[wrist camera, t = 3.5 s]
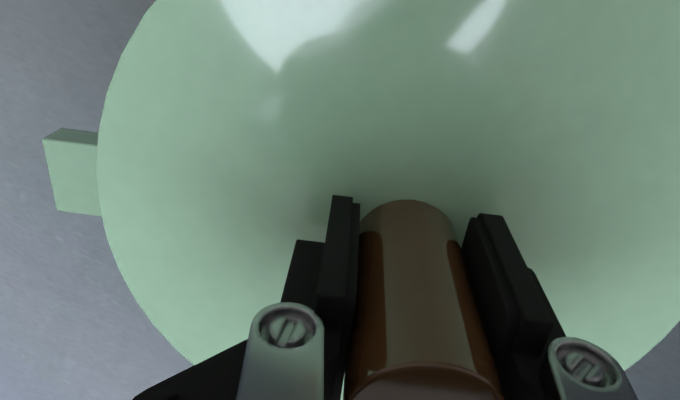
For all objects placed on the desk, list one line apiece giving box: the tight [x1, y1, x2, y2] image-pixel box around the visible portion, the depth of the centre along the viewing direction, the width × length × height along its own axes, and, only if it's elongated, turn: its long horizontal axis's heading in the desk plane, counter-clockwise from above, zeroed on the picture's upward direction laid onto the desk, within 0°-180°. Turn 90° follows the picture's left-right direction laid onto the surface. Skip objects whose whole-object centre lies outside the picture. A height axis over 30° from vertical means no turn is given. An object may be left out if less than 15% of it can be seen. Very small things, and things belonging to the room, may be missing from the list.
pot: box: [42, 128, 102, 216], centre depth 17 cm, size 16×21×8 cm
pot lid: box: [96, 0, 680, 400], centre depth 11 cm, size 17×17×7 cm
